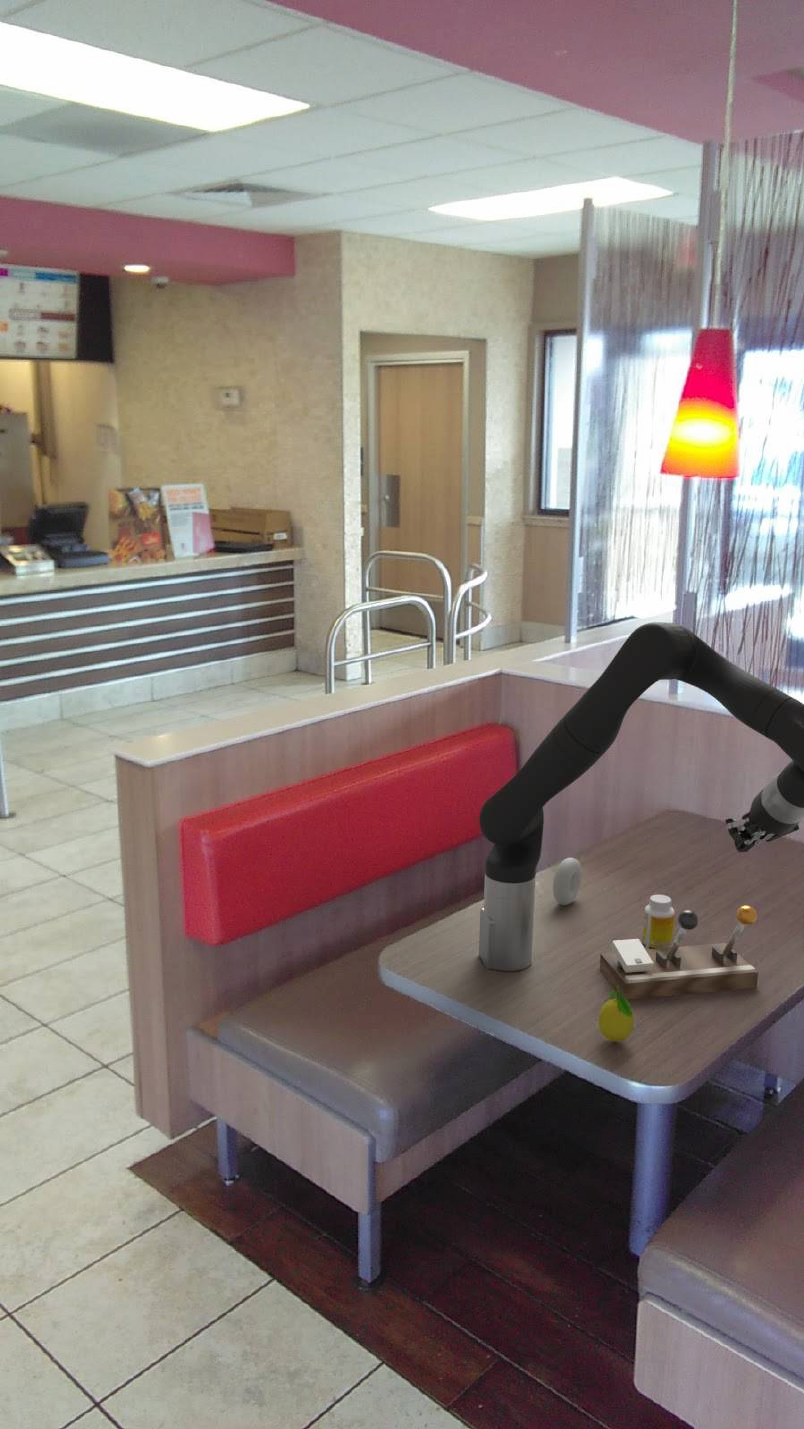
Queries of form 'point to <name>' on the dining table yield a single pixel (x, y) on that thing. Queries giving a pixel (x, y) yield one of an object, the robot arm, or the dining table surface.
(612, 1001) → the lemon
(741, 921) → the lever orange
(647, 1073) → the dining table surface
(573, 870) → the donut
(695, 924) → the lever black
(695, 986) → the panel
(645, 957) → the block
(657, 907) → the supplement bottle
